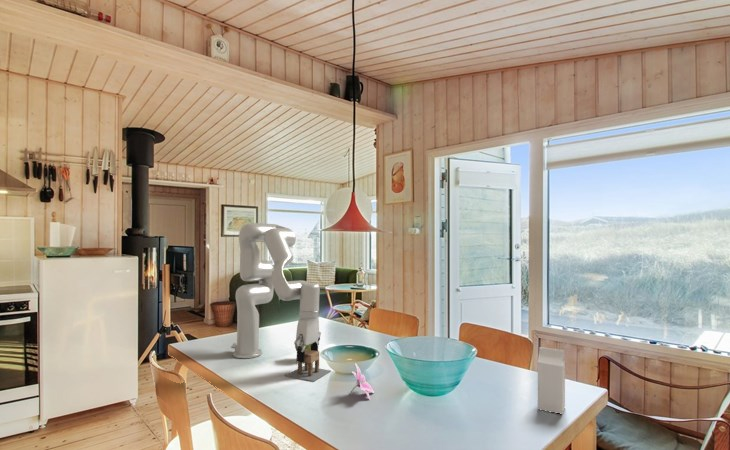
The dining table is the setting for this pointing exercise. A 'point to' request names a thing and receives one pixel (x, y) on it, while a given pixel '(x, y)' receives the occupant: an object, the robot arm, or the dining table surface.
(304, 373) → the mat
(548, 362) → the milk carton
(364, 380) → the lily
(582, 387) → the dining table surface
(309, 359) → the stool
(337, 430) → the dining table surface
